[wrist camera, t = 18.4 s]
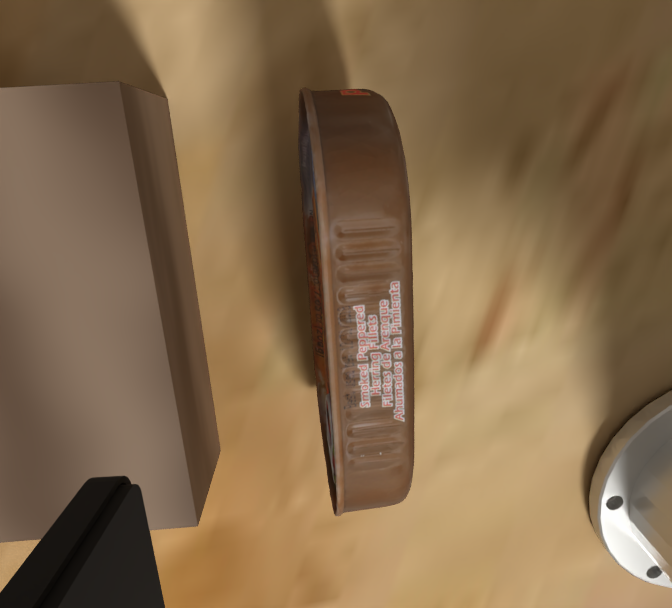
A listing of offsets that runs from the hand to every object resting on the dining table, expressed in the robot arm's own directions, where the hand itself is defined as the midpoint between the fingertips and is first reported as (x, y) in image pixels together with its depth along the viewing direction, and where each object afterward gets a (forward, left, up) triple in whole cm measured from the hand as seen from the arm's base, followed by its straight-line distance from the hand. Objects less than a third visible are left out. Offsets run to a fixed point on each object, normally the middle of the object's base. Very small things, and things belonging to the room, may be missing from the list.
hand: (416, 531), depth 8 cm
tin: (0, -1, -14) cm, 14 cm away
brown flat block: (+12, -1, -14) cm, 19 cm away
